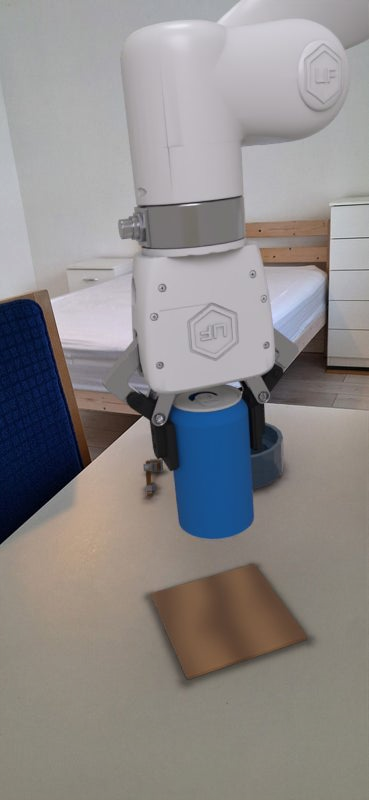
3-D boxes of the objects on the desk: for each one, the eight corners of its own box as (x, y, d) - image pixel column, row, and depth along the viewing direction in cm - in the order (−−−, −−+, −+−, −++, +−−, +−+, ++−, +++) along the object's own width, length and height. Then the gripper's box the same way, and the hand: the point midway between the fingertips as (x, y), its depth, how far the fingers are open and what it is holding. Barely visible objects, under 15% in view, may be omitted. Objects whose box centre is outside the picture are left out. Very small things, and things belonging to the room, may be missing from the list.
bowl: (259, 444, 88) (258, 412, 86) (300, 480, 77) (299, 445, 75) (181, 462, 84) (177, 430, 82) (211, 503, 73) (208, 467, 72)
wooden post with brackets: (140, 497, 74) (139, 461, 75) (151, 490, 82) (149, 457, 83) (155, 497, 74) (153, 460, 74) (164, 490, 82) (162, 457, 82)
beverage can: (234, 498, 55) (226, 376, 51) (268, 533, 50) (261, 399, 45) (169, 517, 53) (154, 391, 49) (196, 556, 48) (182, 418, 43)
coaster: (254, 566, 61) (254, 563, 61) (307, 639, 52) (307, 636, 51) (151, 597, 58) (151, 593, 58) (187, 680, 49) (186, 676, 48)
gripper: (79, 248, 37) (117, 500, 43) (327, 216, 41) (328, 448, 48) (63, 239, 43) (98, 458, 50) (278, 212, 48) (285, 416, 54)
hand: (210, 451), depth 49 cm, fingers closed on beverage can, 6 cm apart
